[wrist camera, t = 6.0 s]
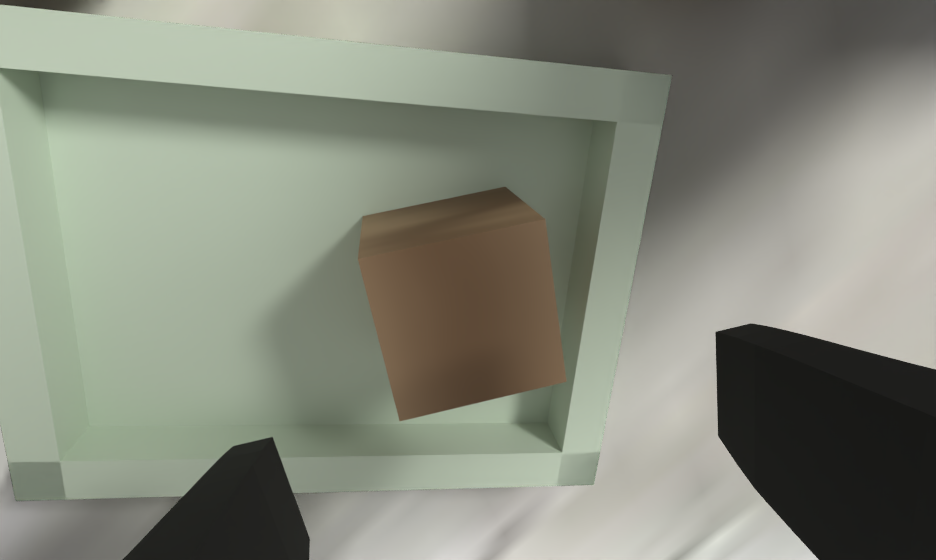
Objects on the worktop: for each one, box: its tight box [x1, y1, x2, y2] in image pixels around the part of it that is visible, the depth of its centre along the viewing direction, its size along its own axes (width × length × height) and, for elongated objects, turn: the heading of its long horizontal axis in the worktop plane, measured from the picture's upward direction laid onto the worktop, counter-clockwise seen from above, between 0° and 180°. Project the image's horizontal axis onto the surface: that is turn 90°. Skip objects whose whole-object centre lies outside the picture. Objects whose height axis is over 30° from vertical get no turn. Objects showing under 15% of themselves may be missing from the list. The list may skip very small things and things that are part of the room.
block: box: [358, 187, 567, 421], centre depth 14 cm, size 4×4×4 cm
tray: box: [0, 5, 672, 501], centre depth 15 cm, size 16×12×2 cm
